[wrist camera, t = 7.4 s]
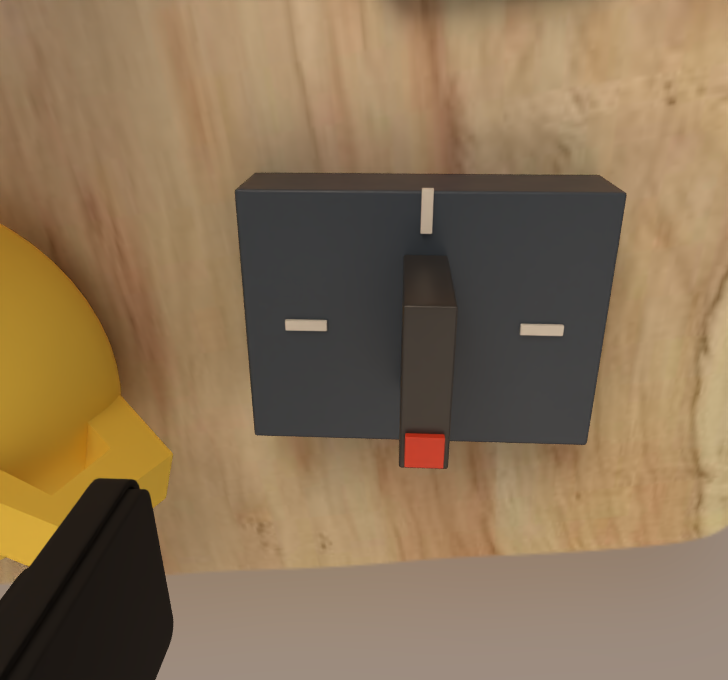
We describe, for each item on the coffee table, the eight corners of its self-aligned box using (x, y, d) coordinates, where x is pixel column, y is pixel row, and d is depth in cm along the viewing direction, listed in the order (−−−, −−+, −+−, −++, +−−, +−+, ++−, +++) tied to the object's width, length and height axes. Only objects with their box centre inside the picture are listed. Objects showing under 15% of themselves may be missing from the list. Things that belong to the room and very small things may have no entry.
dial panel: (601, 171, 22) (630, 190, 20) (567, 406, 26) (588, 450, 23) (253, 169, 23) (232, 187, 20) (270, 398, 27) (253, 440, 24)
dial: (403, 254, 21) (402, 309, 17) (447, 255, 21) (459, 310, 17) (400, 392, 23) (398, 473, 19) (440, 393, 23) (448, 475, 19)
